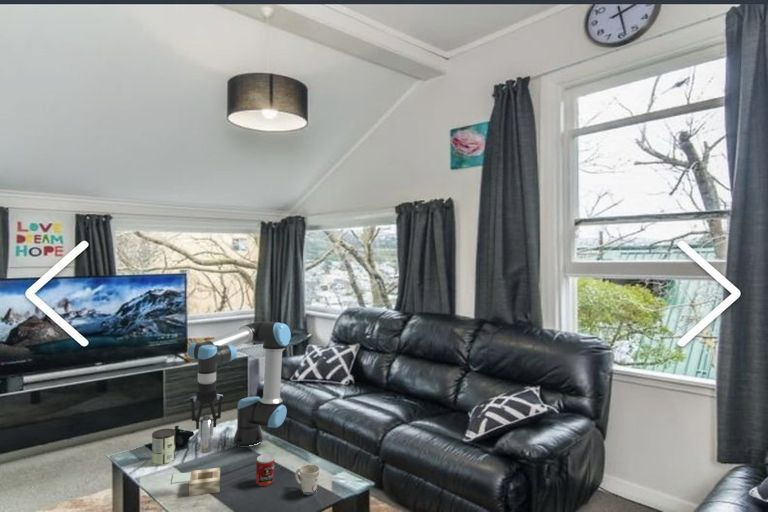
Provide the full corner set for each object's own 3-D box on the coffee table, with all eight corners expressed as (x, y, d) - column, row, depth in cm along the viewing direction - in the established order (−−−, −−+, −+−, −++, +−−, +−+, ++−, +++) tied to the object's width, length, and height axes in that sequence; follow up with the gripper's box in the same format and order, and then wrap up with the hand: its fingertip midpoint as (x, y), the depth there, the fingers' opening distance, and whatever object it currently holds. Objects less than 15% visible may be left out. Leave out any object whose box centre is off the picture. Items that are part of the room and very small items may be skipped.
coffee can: (159, 455, 231) (159, 427, 231) (179, 457, 230) (179, 428, 230) (146, 465, 221) (147, 435, 221) (167, 467, 220) (168, 437, 220)
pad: (192, 472, 215) (192, 471, 215) (191, 481, 207) (191, 480, 207) (173, 475, 212) (173, 474, 212) (171, 483, 205) (171, 482, 205)
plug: (211, 448, 205) (211, 414, 205) (211, 452, 201) (211, 418, 201) (200, 449, 204) (201, 415, 203) (200, 453, 199) (200, 418, 199)
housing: (219, 478, 210) (220, 467, 210) (219, 491, 199) (219, 480, 199) (191, 482, 206) (191, 471, 206) (189, 496, 195) (189, 484, 195)
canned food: (258, 488, 202) (258, 463, 202) (254, 480, 209) (254, 455, 209) (275, 484, 206) (276, 459, 206) (271, 476, 213) (271, 452, 213)
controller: (174, 443, 246) (174, 424, 246) (195, 445, 243) (195, 426, 243) (168, 446, 242) (169, 427, 242) (189, 449, 239) (190, 430, 239)
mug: (310, 499, 195) (310, 475, 194) (287, 490, 201) (288, 467, 201) (322, 490, 202) (323, 467, 202) (300, 482, 208) (301, 460, 208)
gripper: (228, 377, 208) (227, 430, 208) (185, 380, 203) (185, 434, 203) (228, 382, 201) (227, 436, 201) (184, 385, 195) (183, 441, 196)
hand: (206, 435), depth 202 cm, fingers closed on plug, 4 cm apart
